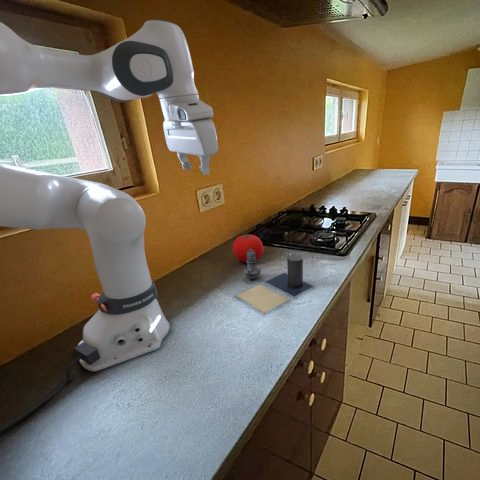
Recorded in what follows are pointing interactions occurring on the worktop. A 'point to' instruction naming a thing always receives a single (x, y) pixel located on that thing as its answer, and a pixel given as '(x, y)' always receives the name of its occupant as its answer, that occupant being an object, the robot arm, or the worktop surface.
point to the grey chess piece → (252, 267)
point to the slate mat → (282, 284)
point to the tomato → (247, 247)
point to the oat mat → (262, 298)
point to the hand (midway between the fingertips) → (196, 171)
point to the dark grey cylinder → (295, 271)
